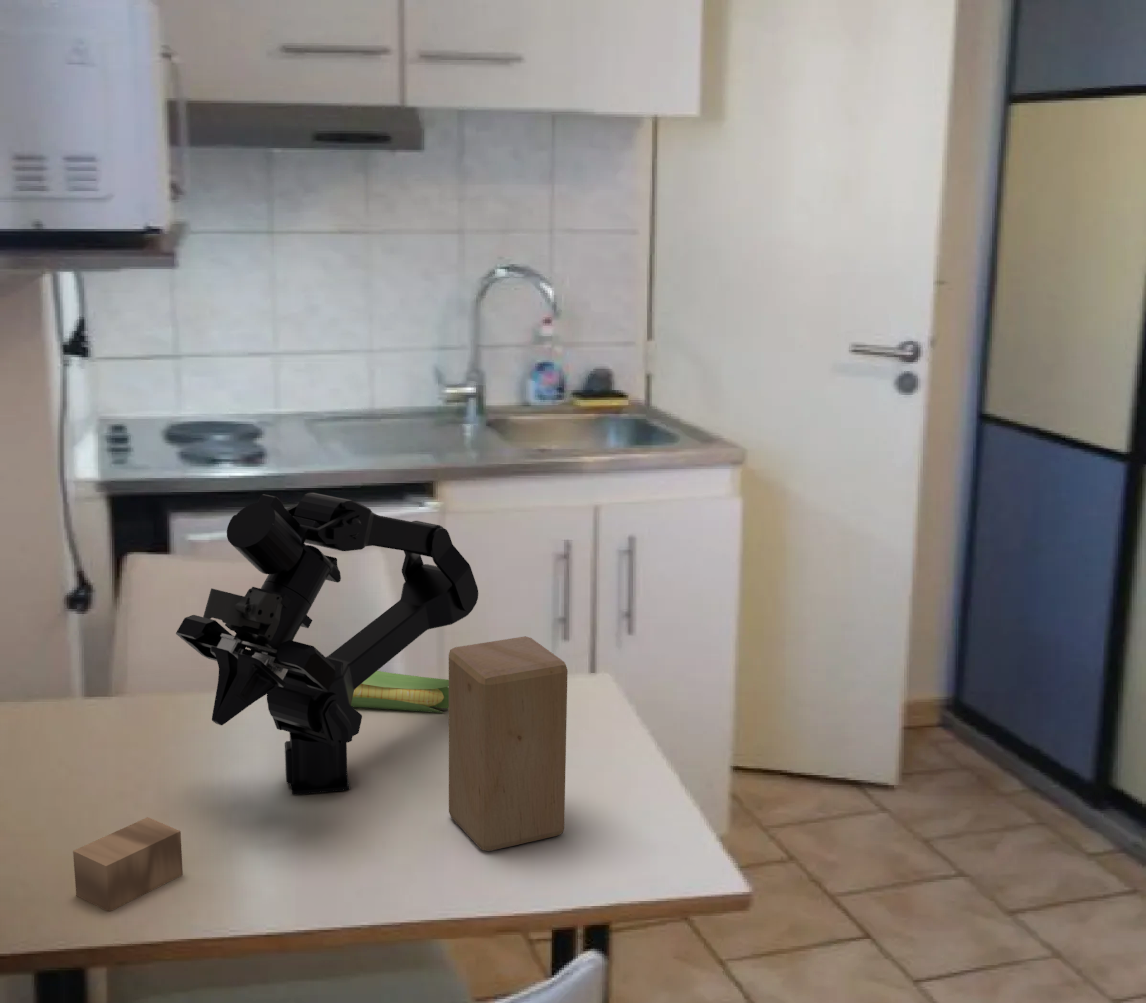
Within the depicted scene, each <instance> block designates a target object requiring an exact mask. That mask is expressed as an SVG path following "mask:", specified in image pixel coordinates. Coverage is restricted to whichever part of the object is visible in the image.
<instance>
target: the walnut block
mask: <svg viewBox="0 0 1146 1003" xmlns="http://www.w3.org/2000/svg"><path fill="white" fill-rule="evenodd" d="M181 832H182V831H181V830H180V829H177V828H174V827H171V826H170V825H167V824H165V823H163V822H160V821H158V820H155V819H153V818H150V817H148V816H146V817H145V818H143V819H140V820H138V821H135V822H134V823H132V824H129V825H128V826H125V827H123V828H120V829H119V830H116V831H114V832H112V833H110V834H109V833H108V834H107V835H105V836H102V837H101V838H99V839H96V840H95V841H92V842H90V843H87V844H84V845H82V846H81V847H79V848H76V849H74V850H73V851H72V856H73V857H72V858H73V867H74V870H73V871H74V881H75V882H74V883H75V894H76V895H75V896H76V897H77V898H78V897H79V898H80V899H82V900H84V901H85V902H88V903H90V904H92V905H94V906H97V907H98V908H100V909H103V910H105V911H106V912H108V913H109V912H112V911H114V910H116V909H117V908H119V907H122V906H123V905H125V904H128V903H130V902H131V901H133V900H134V901H135V899H137V898H139V897H141V896H144V895H146V894H147V893H149V892H151V891H154V890H156V889H157V888H160V887H161V886H163V885H165V884H167V883H169V882H171V881H173V880H175V879H177V878H179V877H181V876H183V875H184V873H183V859H182V858H183V853H182V851H183V850H182V836H181V835H182V834H181Z"/></svg>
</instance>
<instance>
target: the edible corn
mask: <svg viewBox="0 0 1146 1003" xmlns="http://www.w3.org/2000/svg"><path fill="white" fill-rule="evenodd" d="M351 706H352V707H353V708H362V709H363V708H365V709H380V710H394V711H396V710H397V711H406V712H407V711H409V712H422V713H435V714H444V712H443V711H442V710H440V709H441V708H442V709H444V711H445V712H446V711H448V710H446V709H449V679H446V678H437V677H426V676H419V675H410V674H401V673H394V672H386V671H381V670H377V671H376V672H375V673H374V674H373V675H371V676H370V677H369V678H368V679H366V680H365V681H364V682H363V683H362V684H360V685H359V686H358V687H357V688H356V689H355V690H354V693H353V698H352V703H351ZM435 708H436V709H435ZM438 708H440V709H438Z"/></svg>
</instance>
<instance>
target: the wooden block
mask: <svg viewBox="0 0 1146 1003" xmlns="http://www.w3.org/2000/svg"><path fill="white" fill-rule="evenodd" d="M568 674H569V673H568V668H567V665H566V662H565V661H564V660H562V659H561V658H559V657H558V656H557V655H555V654H554V653H552V652H551V651H550V650H549V649H547V648H546V647H544V646H543V645H541V644H540V643H539V642H537V641H536V640H535V639H533V638H532V637H528V636H519V637H513V638H506V639H499V640H494V641H487V642H480V643H474V644H468V645H461V646H456V647H453V648H451V649H449V652H448V680H449V708H448V814H449V816H450V818H451V819H452V820H453V821H454V822H455V823H456V824H457V825H458V826H459V827H460V829H462V830H463V831H464V833H466V835H467V836H468V837H469V838H470V840H472V841H473V842H474V843H475V844H476V846H477V847H478V848H479V849H480V850H482V851H487V852H491V851H496V850H501V849H504V848H508V847H513V846H518V845H522V844H527V843H531V842H535V841H540V840H544V839H549V838H553V837H557V836H559V835H561V834H563V832H564V829H565V814H566V811H565V809H566V807H565V806H566V768H567V767H566V764H567V763H566V761H567V757H566V756H567V753H566V752H567V716H568V715H567V714H568V713H567V712H568V707H567V706H568V702H567V701H568Z"/></svg>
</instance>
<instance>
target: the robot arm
mask: <svg viewBox="0 0 1146 1003" xmlns="http://www.w3.org/2000/svg"><path fill="white" fill-rule="evenodd" d="M226 537H227V540H228V543H229V544H230V545H232V547H234V548H235V550H236V551H238V552H239V553H240V555H241V556H243V557H244V558H245V559H246V560H247V561H248V562H249V563H250V564H251V565H252V566H253V567H254V568H255V569H257V571H258V572H260V573H262V574H265V575H267V577H266V579H264V582H263V584H262V586H261V587H260V588H259V587H255V586H251V588H249V589H248V590H247V592H246V593H245V595H244V596H243V595H240V594H236V593H232V592H228V591H224V590H219V589H216V588H210V591H209V594H208V598H207V602H206V605H205V609H204V612H203V616H199V615H197V614H192V615H189V616H186V617H184V619H183V620H182V622H181V623H180V624H179V627H178V628H177V631H176V632H175V635H177V637H179V638H180V639H181V640H183V641H184V642H185V643H186V644H188V645H189V646H190V647H191V648H192V649H194V650H195V651H196V652H197V653H198V654H200V655H201V656H203V657H205V658H206V659H208V660H212V661H215V662H217V665H218V678H217V687H216V691H215V697H214V704H213V709H212V713H211V714H212V715H211V720H212V722H213V723H214V724H216V725H219V726H223V725H225V724H226V723H228V722H229V721H230V720H232V719H233V718H235V717H236V716H237V715H239V714H240V713H241V712H243V711H244V710H245V709H247V708H248V707H249V706H251V705H253V703H255V702H256V701H259V700H260V699H261V698H264V697H265V696H266V703H267V708H268V712H269V714H270V716H271V717H272V719H273V722H274V725H275V727H276V730H278V731H285V732H287V733H289V740H286V741H285V742H284V763H285V764H284V765H285V766H284V768H285V770H284V771H285V779H286V781H285V782H286V783H287V784H288V785H289V784H290V790H291V794H292V795H304V794H314V793H315V794H316V793H327V792H341V791H348V790H349V789H350V788H351V786H350V779H349V776H348V750H347V749H348V748H347V747H348V744H347V743H350V742H352V741H353V737H355V736H356V735H358V734H359V733H360V729H361V724H362V720H363V715H362V714H361V713H360V712H359V711H358V710H357V709H356V708H355V707H352V706H351V703H352V698H353V693H354V690H355V689H356V688H357V687H358V686H359V685H360V684H362V683H363V682H364V681H365V680H366V679H368V678H369V677H370V676H371V675H373V674H374V673H375V672H376V671H380V669H381V668H383V666H385V665H386V664H387V663H389V661H391V660H393V658H395V657H396V656H397V655H398V654H400V652H402V651H403V650H404V649H405V648H407V647H408V646H409V645H411V643H413V642H414V641H416V639H418V638H419V637H420V636H422V635H423V634H424V633H426V631H428V630H431V629H436V628H437V629H438V628H441V627H447V626H452V625H454V624H455V623H457V622H459V621H461V620H463V619H464V618H466V617H467V616H469V614H470V613H471V612H472V611H473V610H474V609H475V606H476V605H477V602H478V600H479V589H478V584H477V582H476V580H475V579H476V578H475V576H474V573H473V570H472V567H471V565H470V564H469V562H468V561H467V559H466V558H465V557H464V556H463V554H462V553H461V552H460V551H459V550H458V549H457V548H456V547H455V545H454V544H453V542H452V539H451V536H450V533H449V531H448V530H447V529H446V528H445V527H444V526H442V525H440V524H435V523H431V522H425V521H420V520H413V521H409V520H404V519H399V518H394V517H389V516H383V515H379V514H376V513H374V512H373V511H372V509H371V508H370V507H367V506H365V505H364V504H361V503H359V502H357V501H355V500H352V499H348V498H347V499H346V498H341V497H336V496H332V495H327V494H322V493H317V492H307V493H304V494H303V496H302V498H301V499H300V500H299V502H298V503H296V504H294V505H292V506H289V507H287V508H286V507H285V506H284V504H283V502H282V501H281V500H280V499H279V498H278V497H277V496H275V495H269V494H264V493H263V494H261V495H260V497H259V498H258V501H257V502H253V503H251V504H249V505H247V506H244V507H242V509H241V510H240V511H238V512H237V513H236V514H234V515H233V516H232V517H231V518H230V520H229V523H228V525H227V528H226ZM316 546H317V547H316ZM318 547H323V548H326V549H331V550H334V551H335V550H336V551H340V552H349V551H351V552H352V551H358V550H363V549H365V547H378V548H385V549H390V550H397V551H403V553H404V560H403V563H402V566H401V573H402V577H403V579H404V582H403V584H402V588H401V589H402V590H401V594H400V595H401V596H400V599H399V600H398V601H397V602H396V603H394V604H393V605H392V606H391V607H389V608H388V609H386V610H385V611H384V612H383V613H381V614H380V615H379V616H378V617H377V618H375V619H374V620H372V621H371V622H370V623H368V624H367V625H366V626H365V627H364V628H362V629H361V630H359V631H358V632H357V633H355V634H354V635H353V636H352V637H350V638H349V639H348V640H347V641H345V642H344V643H343V644H341V645H340V646H339V647H338V648H336V649H335V650H334V651H333V652H331V653H330V654H329V655H327V656H325V655H324V654H323V653H322V652H320V651H319V650H318V649H317V648H316V647H315V646H314V645H310V644H308V643H307V644H306V643H302V642H299V641H296V640H294V639H295V637H296V636H297V633H298V632H299V630H300V628H301V627H302V628H305V629H309V628H310V627H311V624H312V622H313V619H312V618H311V617H310V616H309V615H308V613H309V611H310V610H311V608H312V606H313V604H314V602H315V601H316V598H317V597H318V595H319V593H320V591H321V589H322V587H323V586H324V585H325V582H326V581H329V582H332V583H333V582H334V583H340V582H341V581H342V580H341V579H342V577H341V572H340V569H339V566H338V558H336V557H334V556H331V555H326V554H324V553H323V552H322V551H321V550H320V549H319V548H318ZM422 556H423V557H428V558H432V561H433V563H434V564H435V565H433V564H429V563H426V564H424V561H423V558H422ZM212 618H213V619H212ZM217 620H219V621H221V622H222V623H223V624H224V626H225V627H226V628H225V627H224V626H223V625H221V624H220V623H219V622H218V621H217ZM227 629H229V631H228V630H227ZM230 631H232V632H234V633H236V634H235V635H233V634H232V633H231V632H230Z"/></svg>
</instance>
